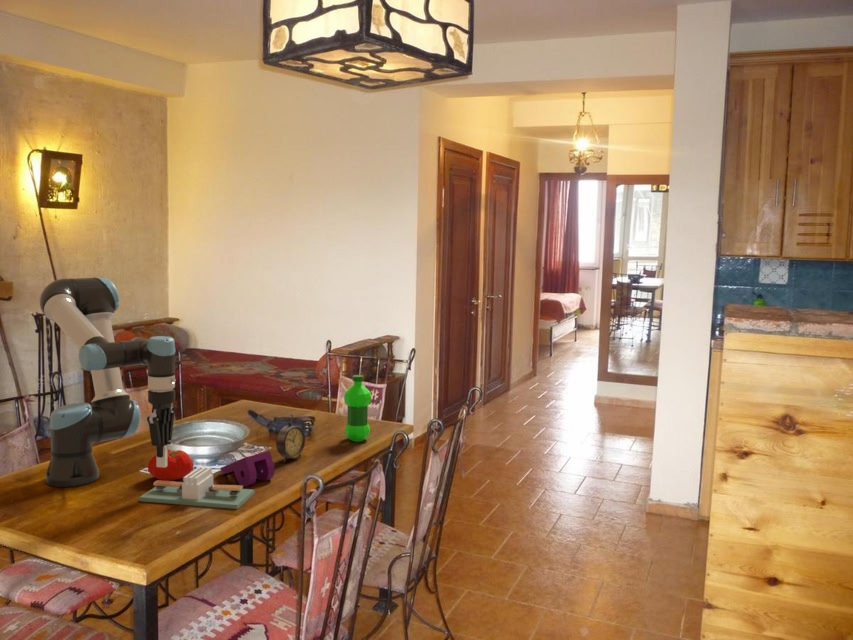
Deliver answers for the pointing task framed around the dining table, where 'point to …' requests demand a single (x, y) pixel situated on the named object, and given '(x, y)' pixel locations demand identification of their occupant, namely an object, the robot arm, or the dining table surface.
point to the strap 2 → (226, 487)
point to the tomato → (172, 466)
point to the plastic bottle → (357, 410)
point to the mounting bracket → (251, 468)
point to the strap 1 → (168, 483)
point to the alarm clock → (290, 441)
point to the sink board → (203, 501)
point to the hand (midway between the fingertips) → (161, 466)
